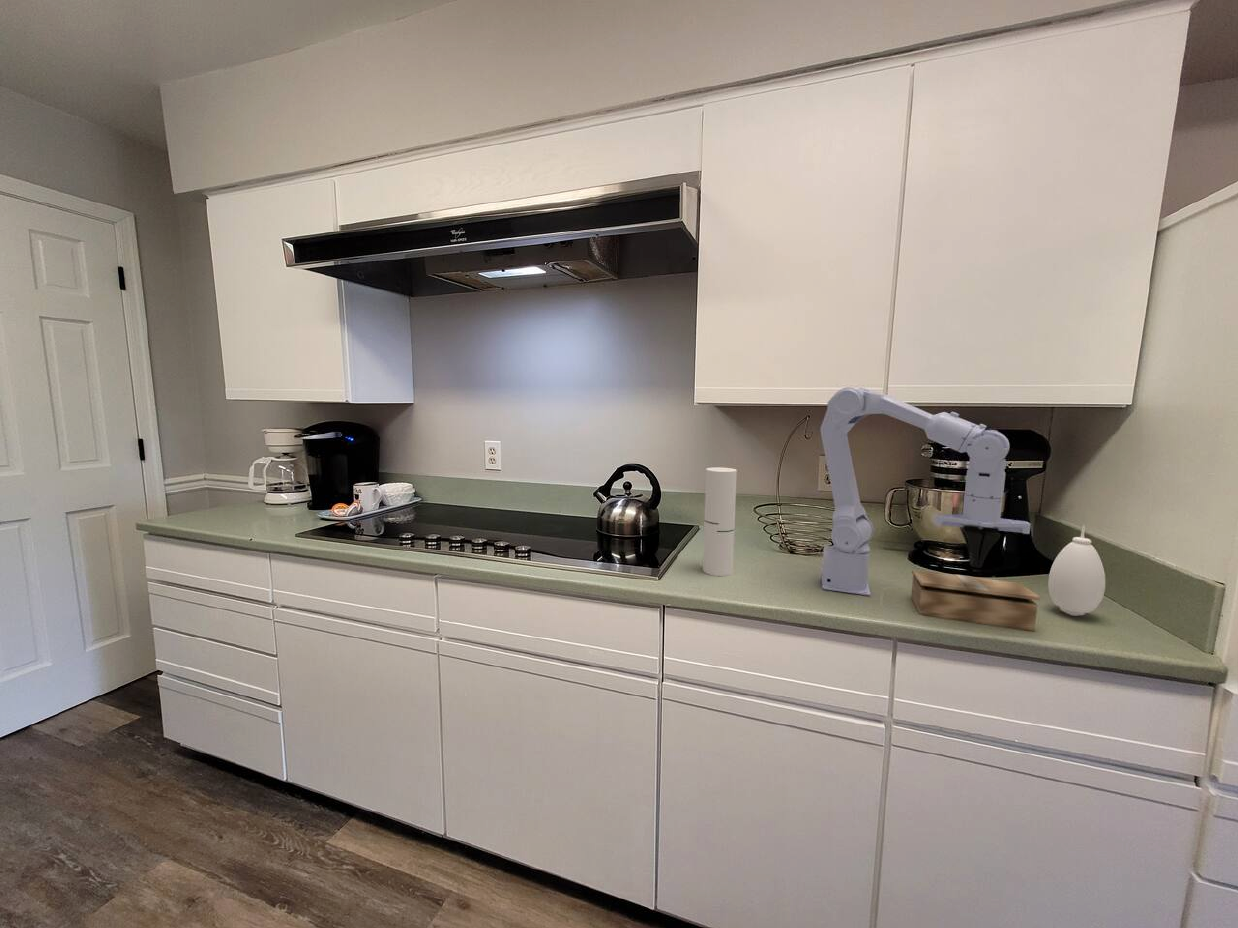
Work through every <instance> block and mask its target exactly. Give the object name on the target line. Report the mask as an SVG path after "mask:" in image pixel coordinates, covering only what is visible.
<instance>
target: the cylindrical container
mask: <svg viewBox="0 0 1238 928" xmlns="http://www.w3.org/2000/svg"><path fill="white" fill-rule="evenodd" d="M737 473H738V469H736V468H732V467H731V468H730V467H707V468H705V488H704V489H705V493H704V494H705V495H704V496H705V497H704V525H703V526H704V527H703V528H704V529H703V556H702V557H703V559H702V560H703V561H702V571H703V572H704V573H705V574H707V575H709V576H714V577H715V576H716V577H728V576H731V575H733V573H734V550H735V548H734V547H735V527H736V525H735V523H736V503H737V501H736V500H737Z"/></svg>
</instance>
